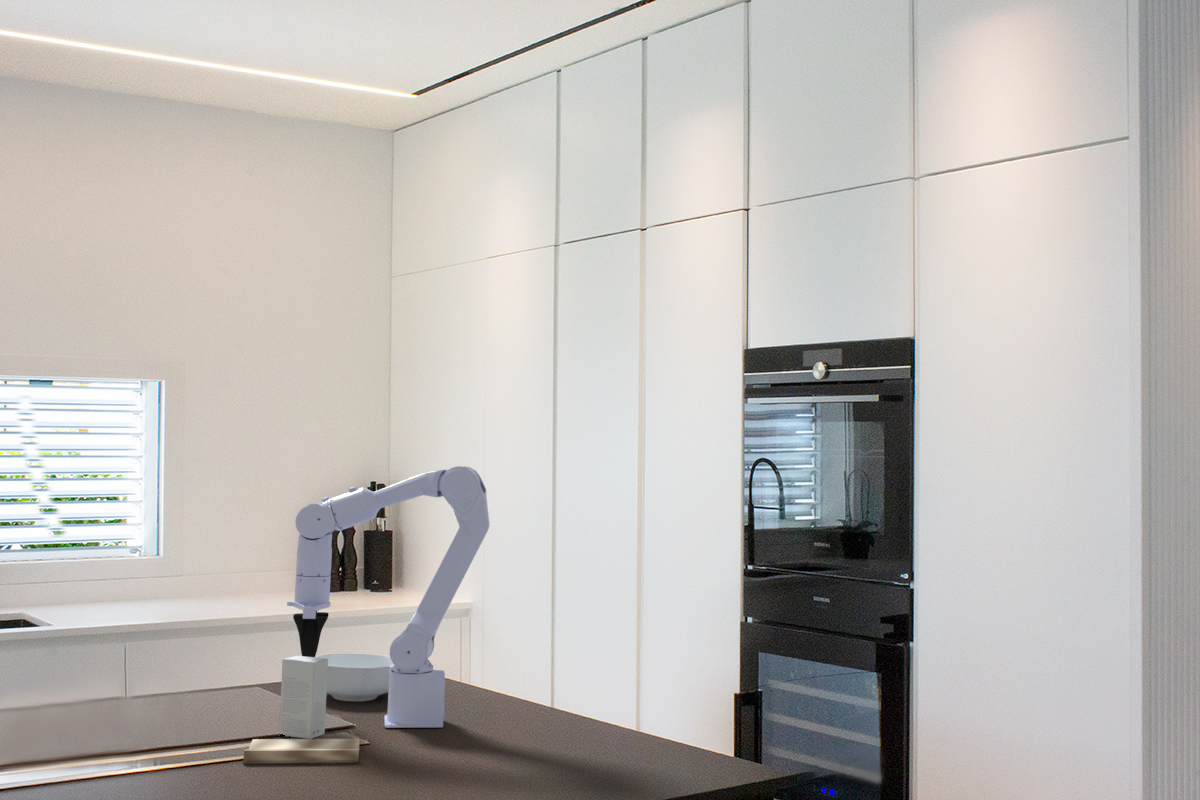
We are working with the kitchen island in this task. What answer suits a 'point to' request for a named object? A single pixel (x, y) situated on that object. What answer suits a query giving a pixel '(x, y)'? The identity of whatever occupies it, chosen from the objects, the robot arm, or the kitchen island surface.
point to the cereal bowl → (357, 675)
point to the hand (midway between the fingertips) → (308, 656)
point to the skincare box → (303, 697)
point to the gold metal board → (302, 751)
